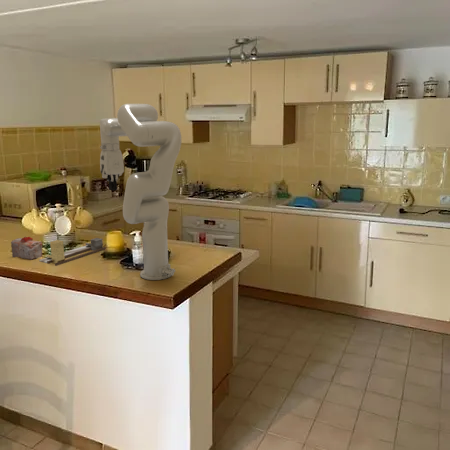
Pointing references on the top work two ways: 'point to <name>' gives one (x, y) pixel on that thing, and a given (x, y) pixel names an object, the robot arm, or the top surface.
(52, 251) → the sliding head
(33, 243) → the food item
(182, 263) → the top surface
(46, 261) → the grey slide rail
